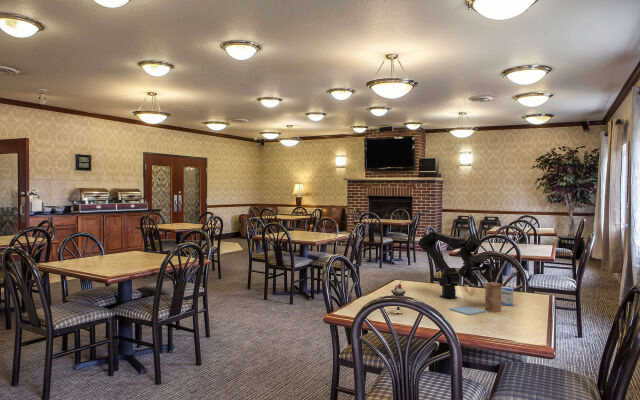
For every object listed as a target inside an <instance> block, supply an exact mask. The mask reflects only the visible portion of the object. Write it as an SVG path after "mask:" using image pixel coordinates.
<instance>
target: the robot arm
mask: <svg viewBox="0 0 640 400" xmlns="http://www.w3.org/2000/svg"><path fill="white" fill-rule="evenodd" d="M438 241H439V242H442V243H444V244H447V246H449V247H450V248H451V249H453V250H457V251H456V253H455V256H456V257H460V258H461V259H462V262H463V263H462V266H461V267H460V268H459V269H458V270H457V269H456V268H455V267H450V266H449V265H448V263H447V262H446V260H445V259H444V258H443V256H442V255H441V253H440V252H439V251H438V250H437V242H438ZM418 246H419V247H420V248H421V250H422V251H424V252H426V253H427V254H428V255H429V256H430V258H431V260H432V261H433V262H434V263H435V265H436V267H437V268H438V269H439V271H440V272H441V279H440V280H439V282H438V284H439V286H440V287H441V295H439V296H440V297H441V298H443V299H448V300H449V299H450V300H451V299H457V298H458V297H457V296H456V295H457V294H456V293H457V292H456V287H457V286H458V285H459V283H460V278H461V277H462V278H464V279H466V280H468V281H469V282H472V283H473V284H474V285H476V286H478V285H479V282H478V280H477V278H476V276H475V274H474V272H479V273H480V274H481V276H482V277H483V279H485V280H486V281H487V283H489V282H493V280H492V275H491V270H493V268H494V265H492V263H489V262H488V263H487V260H488V259H489V257H488V255H487V254H486V253H482V254H478V255H474V254H473V253H475V252H476V251H477V250H478V249H479V248H480V247H481V246H482V242H481V240H480V239H479V238H477V237H475V236H474V235H469V236H468V238H467V239H466V238H465V237H458V236H452V235H451V236H450V235H448V234H445V233H442V232H440V231H433V230H432V231H430V232H429V233H428V234H426V235H424V236H422V237H421V238H420V239H419V241H418ZM484 262H486V263H484ZM482 264H483V265H482ZM440 297H439V298H440Z"/></svg>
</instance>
